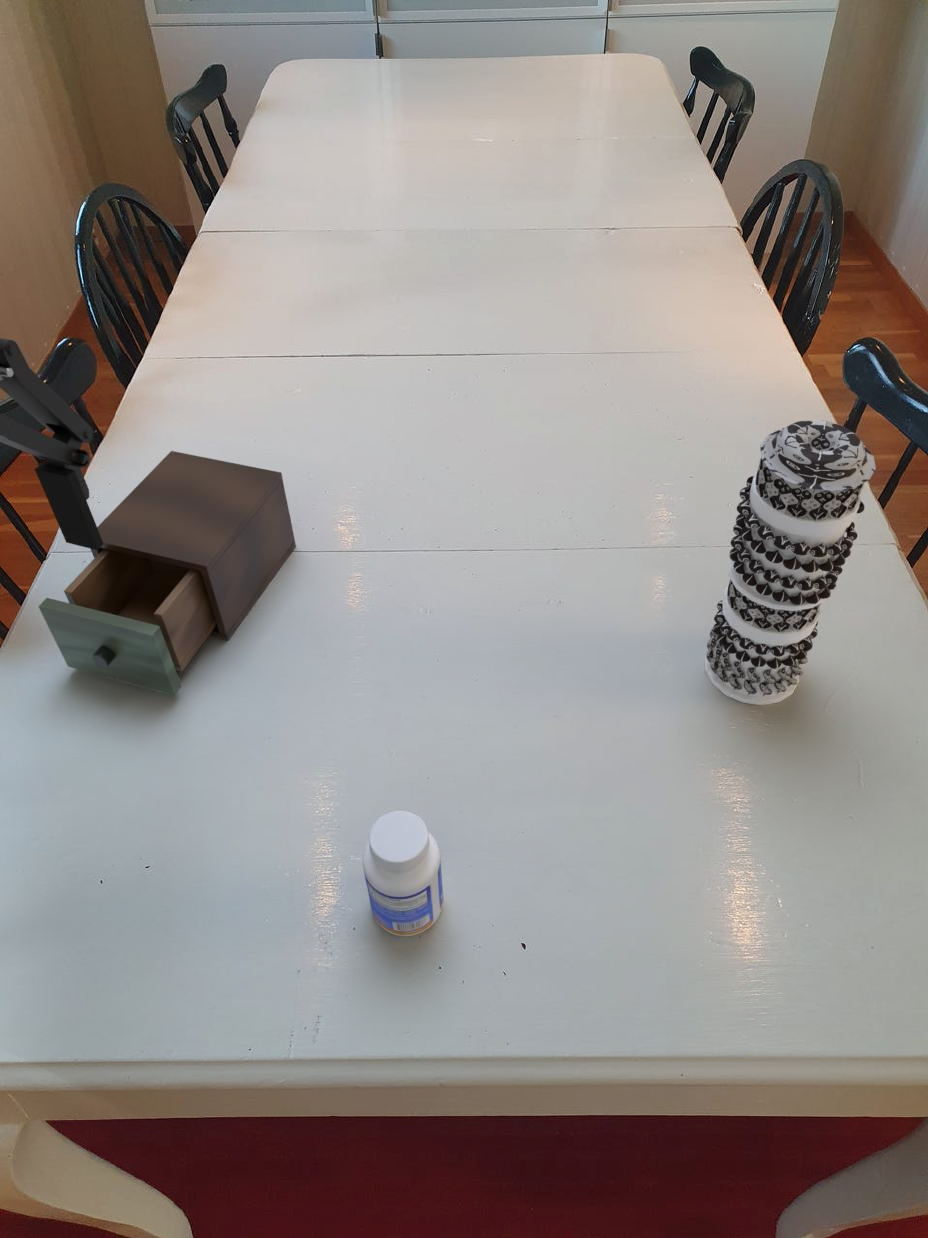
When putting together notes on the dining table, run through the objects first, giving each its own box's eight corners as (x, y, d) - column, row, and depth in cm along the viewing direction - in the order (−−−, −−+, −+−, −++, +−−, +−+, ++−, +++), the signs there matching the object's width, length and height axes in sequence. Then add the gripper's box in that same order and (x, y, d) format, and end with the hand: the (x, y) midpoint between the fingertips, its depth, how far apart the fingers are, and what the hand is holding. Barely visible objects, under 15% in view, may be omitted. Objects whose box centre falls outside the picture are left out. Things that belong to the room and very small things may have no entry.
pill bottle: (395, 860, 70) (385, 788, 63) (456, 890, 68) (453, 819, 61) (356, 918, 67) (341, 849, 60) (420, 952, 65) (411, 884, 58)
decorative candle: (710, 622, 87) (766, 394, 69) (809, 648, 85) (894, 417, 67) (689, 690, 81) (744, 459, 64) (795, 720, 79) (883, 488, 61)
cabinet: (228, 640, 87) (206, 566, 80) (116, 612, 90) (85, 538, 83) (296, 546, 97) (281, 472, 90) (193, 523, 100) (171, 450, 93)
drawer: (167, 705, 80) (143, 645, 75) (59, 676, 83) (29, 615, 77) (247, 596, 90) (231, 535, 84) (148, 572, 93) (127, 512, 87)
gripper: (-292, 456, 37) (-67, 762, 52) (83, 222, 54) (172, 507, 69) (-419, 424, 39) (-167, 729, 54) (-19, 208, 55) (89, 488, 71)
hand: (23, 605), depth 61 cm, fingers open, 13 cm apart
